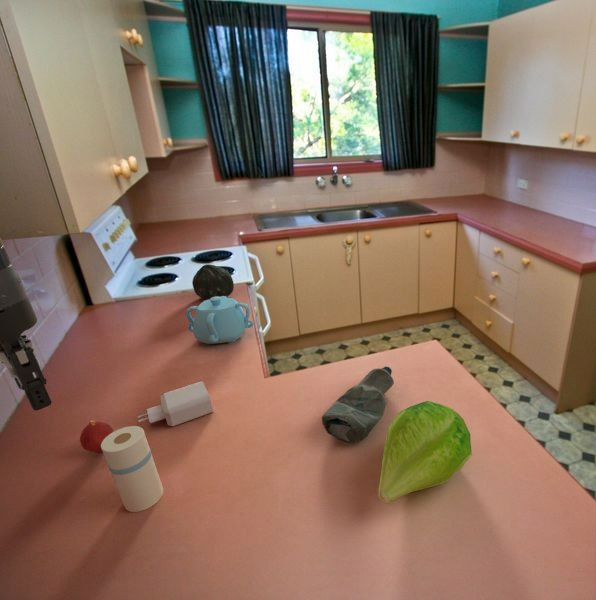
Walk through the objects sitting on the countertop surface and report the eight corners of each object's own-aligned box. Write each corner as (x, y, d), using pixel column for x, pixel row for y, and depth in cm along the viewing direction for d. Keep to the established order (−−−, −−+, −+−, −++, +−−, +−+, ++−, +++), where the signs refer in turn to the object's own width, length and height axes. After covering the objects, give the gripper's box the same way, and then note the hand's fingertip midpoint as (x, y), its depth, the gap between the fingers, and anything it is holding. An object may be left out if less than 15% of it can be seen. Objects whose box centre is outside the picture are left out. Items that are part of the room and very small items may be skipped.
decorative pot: (208, 355, 126) (198, 314, 121) (187, 337, 136) (177, 299, 131) (258, 336, 137) (252, 297, 131) (235, 320, 147) (228, 284, 141)
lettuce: (430, 550, 70) (366, 510, 80) (494, 450, 84) (432, 426, 94) (406, 494, 63) (339, 457, 73) (480, 395, 77) (415, 375, 87)
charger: (138, 417, 100) (206, 394, 108) (142, 439, 93) (214, 413, 101) (133, 401, 98) (202, 379, 106) (136, 422, 91) (210, 397, 99)
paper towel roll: (115, 509, 77) (90, 449, 71) (142, 481, 82) (121, 423, 77) (146, 515, 75) (124, 453, 70) (171, 486, 81) (152, 427, 76)
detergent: (364, 454, 87) (414, 386, 107) (359, 426, 84) (411, 362, 105) (313, 439, 93) (369, 378, 113) (306, 413, 90) (365, 355, 111)
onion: (84, 450, 90) (71, 420, 87) (114, 437, 94) (103, 407, 91) (89, 465, 87) (76, 434, 83) (121, 450, 90) (110, 420, 87)
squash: (230, 273, 176) (200, 253, 165) (246, 283, 166) (216, 262, 155) (209, 301, 174) (177, 282, 163) (224, 313, 164) (191, 294, 153)
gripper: (-53, 297, 61) (-6, 391, 67) (-37, 323, 52) (15, 428, 59) (14, 281, 66) (51, 370, 72) (38, 303, 57) (78, 401, 64)
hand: (35, 396), depth 65 cm, fingers open, 8 cm apart
